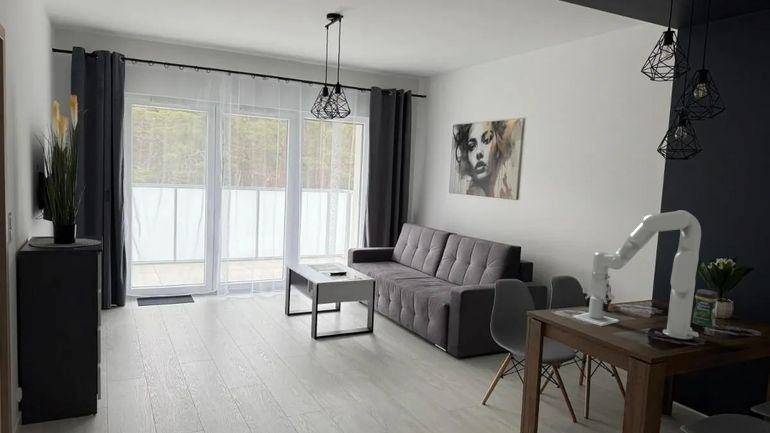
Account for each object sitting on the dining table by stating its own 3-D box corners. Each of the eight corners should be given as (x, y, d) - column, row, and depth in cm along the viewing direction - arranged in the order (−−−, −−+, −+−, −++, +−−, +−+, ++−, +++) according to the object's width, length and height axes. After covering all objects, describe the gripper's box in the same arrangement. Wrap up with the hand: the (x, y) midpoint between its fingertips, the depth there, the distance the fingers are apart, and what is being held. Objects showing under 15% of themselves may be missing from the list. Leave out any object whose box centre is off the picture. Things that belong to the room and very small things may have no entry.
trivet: (618, 321, 273) (618, 319, 273) (601, 326, 264) (601, 323, 264) (590, 314, 286) (590, 312, 286) (572, 317, 276) (573, 315, 276)
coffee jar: (689, 323, 278) (693, 288, 276) (696, 321, 283) (700, 287, 281) (710, 328, 270) (714, 292, 268) (716, 326, 275) (720, 291, 273)
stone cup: (584, 306, 302) (586, 280, 300) (597, 304, 308) (599, 279, 307) (608, 313, 289) (610, 286, 288) (621, 311, 296) (623, 285, 294)
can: (601, 316, 278) (603, 293, 277) (605, 320, 270) (608, 297, 269) (586, 315, 279) (588, 292, 278) (590, 319, 271) (592, 296, 270)
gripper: (619, 278, 268) (616, 312, 270) (588, 272, 282) (585, 304, 283) (611, 280, 264) (608, 313, 265) (580, 273, 277) (577, 305, 279)
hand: (596, 308), depth 274 cm, fingers open, 9 cm apart
